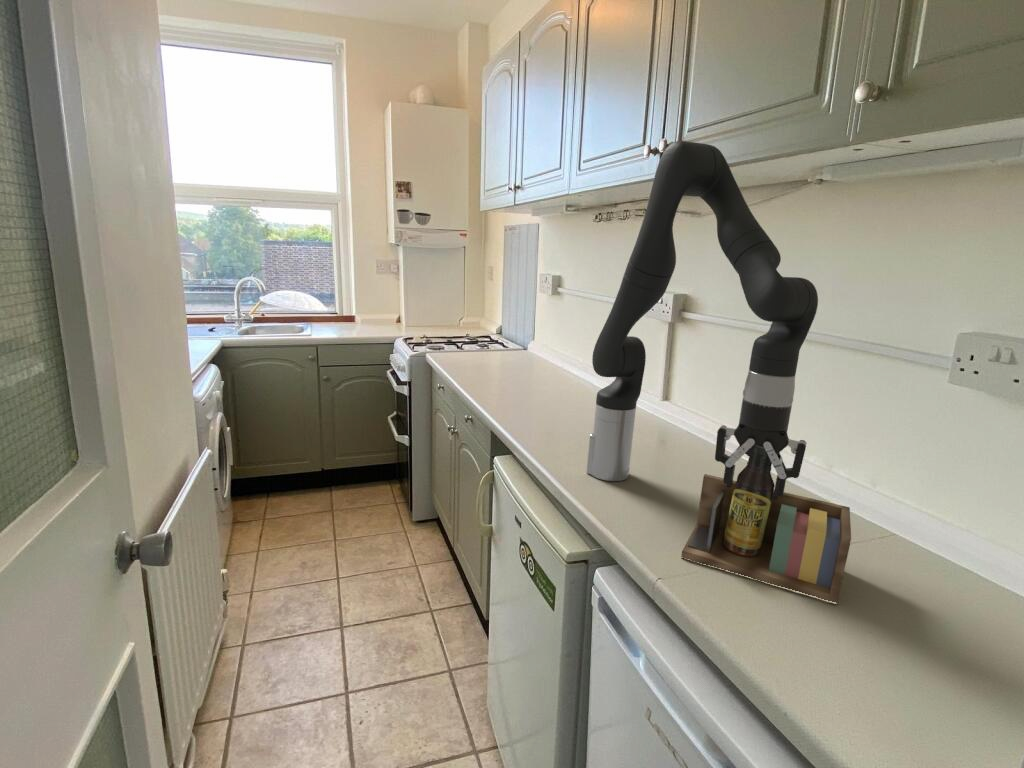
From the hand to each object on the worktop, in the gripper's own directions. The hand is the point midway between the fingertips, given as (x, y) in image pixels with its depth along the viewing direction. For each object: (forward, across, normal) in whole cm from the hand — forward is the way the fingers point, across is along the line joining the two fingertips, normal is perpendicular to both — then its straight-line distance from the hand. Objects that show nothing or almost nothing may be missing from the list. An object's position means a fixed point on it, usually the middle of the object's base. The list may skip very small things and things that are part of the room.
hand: (751, 491), depth 97 cm
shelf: (+13, -3, 0) cm, 13 cm away
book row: (+11, -9, 0) cm, 15 cm away
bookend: (+11, +7, 0) cm, 13 cm away
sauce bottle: (+11, 0, 0) cm, 11 cm away
